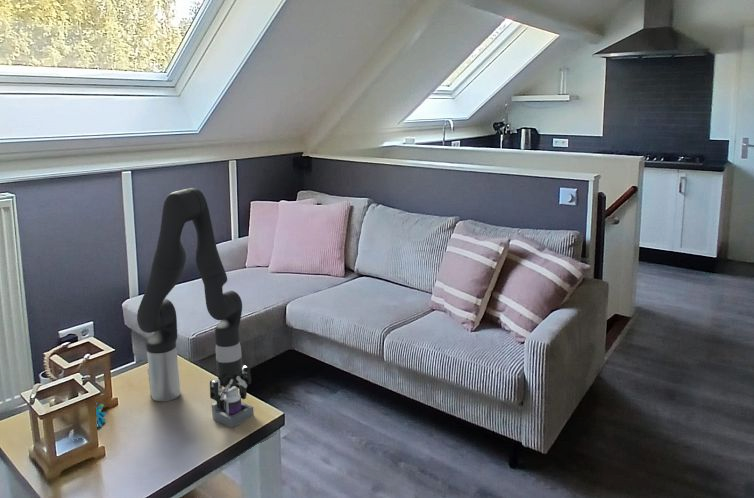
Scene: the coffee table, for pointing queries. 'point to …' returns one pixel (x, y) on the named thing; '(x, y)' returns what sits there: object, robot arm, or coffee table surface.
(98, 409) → the blue lumpy piece
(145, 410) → the coffee table surface
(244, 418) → the dock
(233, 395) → the pill bottle
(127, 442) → the coffee table surface
